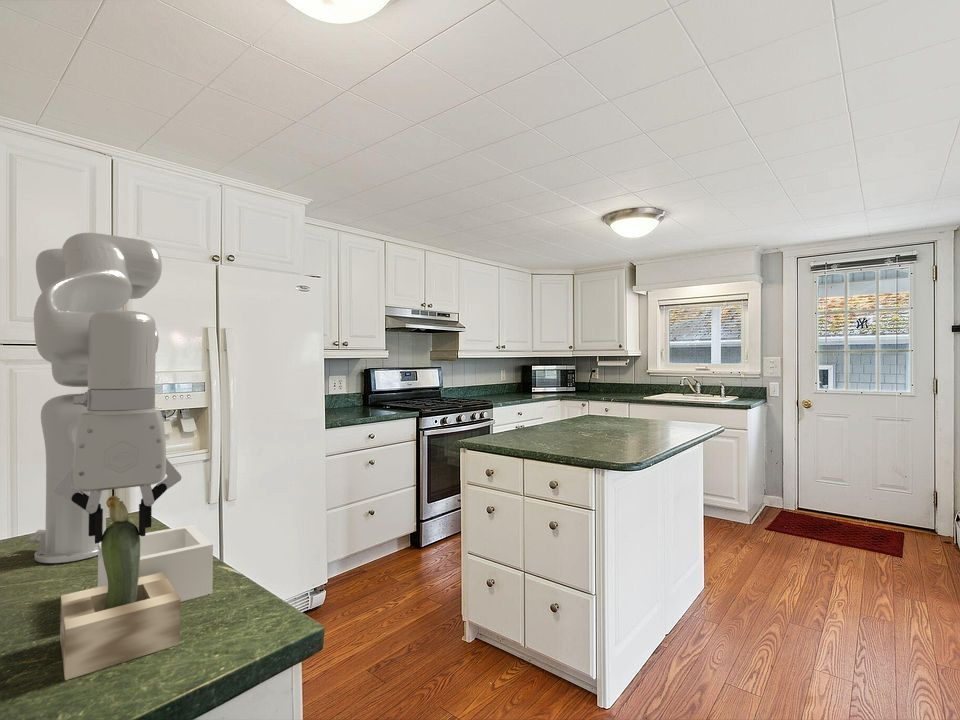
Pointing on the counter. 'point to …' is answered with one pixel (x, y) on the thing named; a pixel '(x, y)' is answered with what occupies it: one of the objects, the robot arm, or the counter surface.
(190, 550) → the bin
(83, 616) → the holder
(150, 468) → the robot arm
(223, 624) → the counter surface
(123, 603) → the vegetable
